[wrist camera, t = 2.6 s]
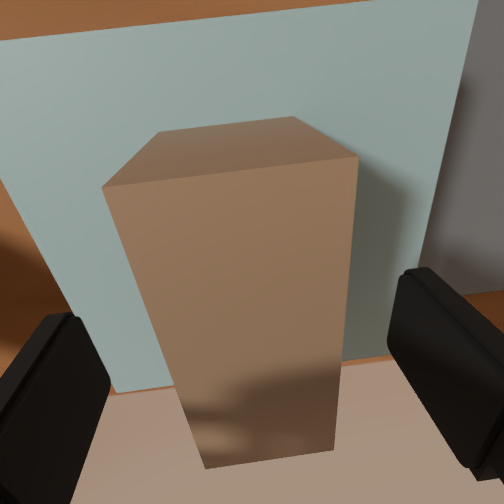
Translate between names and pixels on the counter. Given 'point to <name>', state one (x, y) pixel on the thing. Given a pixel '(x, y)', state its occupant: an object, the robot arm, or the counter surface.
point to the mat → (473, 169)
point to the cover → (236, 198)
